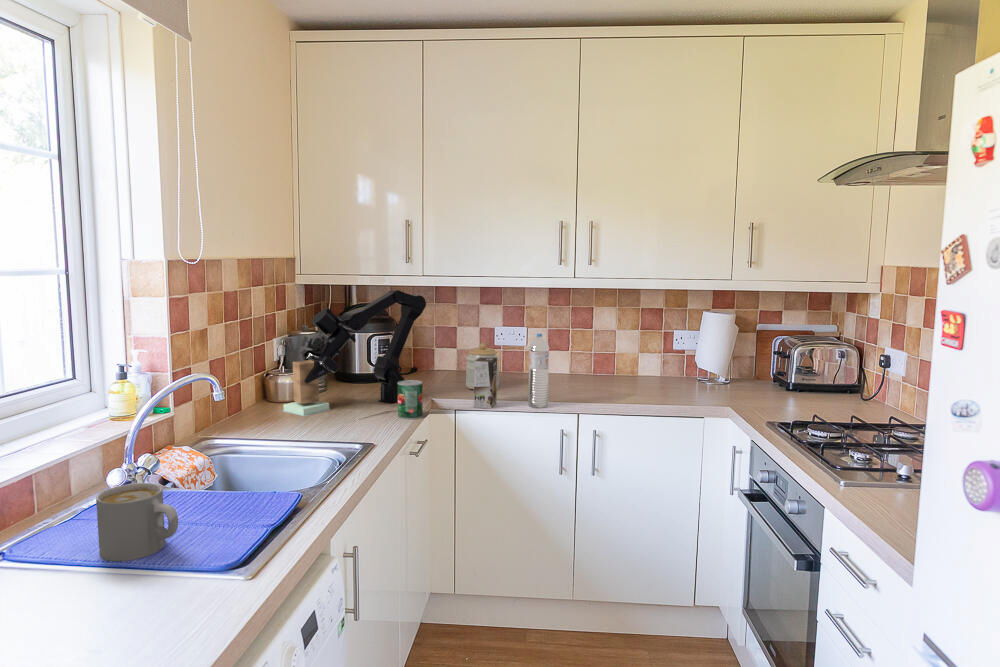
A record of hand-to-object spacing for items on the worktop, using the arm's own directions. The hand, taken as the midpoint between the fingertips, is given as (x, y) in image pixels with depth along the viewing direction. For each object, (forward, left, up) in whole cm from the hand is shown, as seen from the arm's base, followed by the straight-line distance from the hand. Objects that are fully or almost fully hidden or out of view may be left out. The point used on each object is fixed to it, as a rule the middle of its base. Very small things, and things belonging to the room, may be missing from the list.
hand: (301, 380), depth 208 cm
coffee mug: (-55, +79, -11) cm, 97 cm away
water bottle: (-53, -56, -11) cm, 78 cm away
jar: (-20, -69, -11) cm, 73 cm away
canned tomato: (-28, -19, -11) cm, 36 cm away
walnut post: (0, -1, -7) cm, 7 cm away
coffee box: (-38, -46, -11) cm, 61 cm away
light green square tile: (0, -1, -12) cm, 12 cm away
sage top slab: (0, -1, -10) cm, 10 cm away
